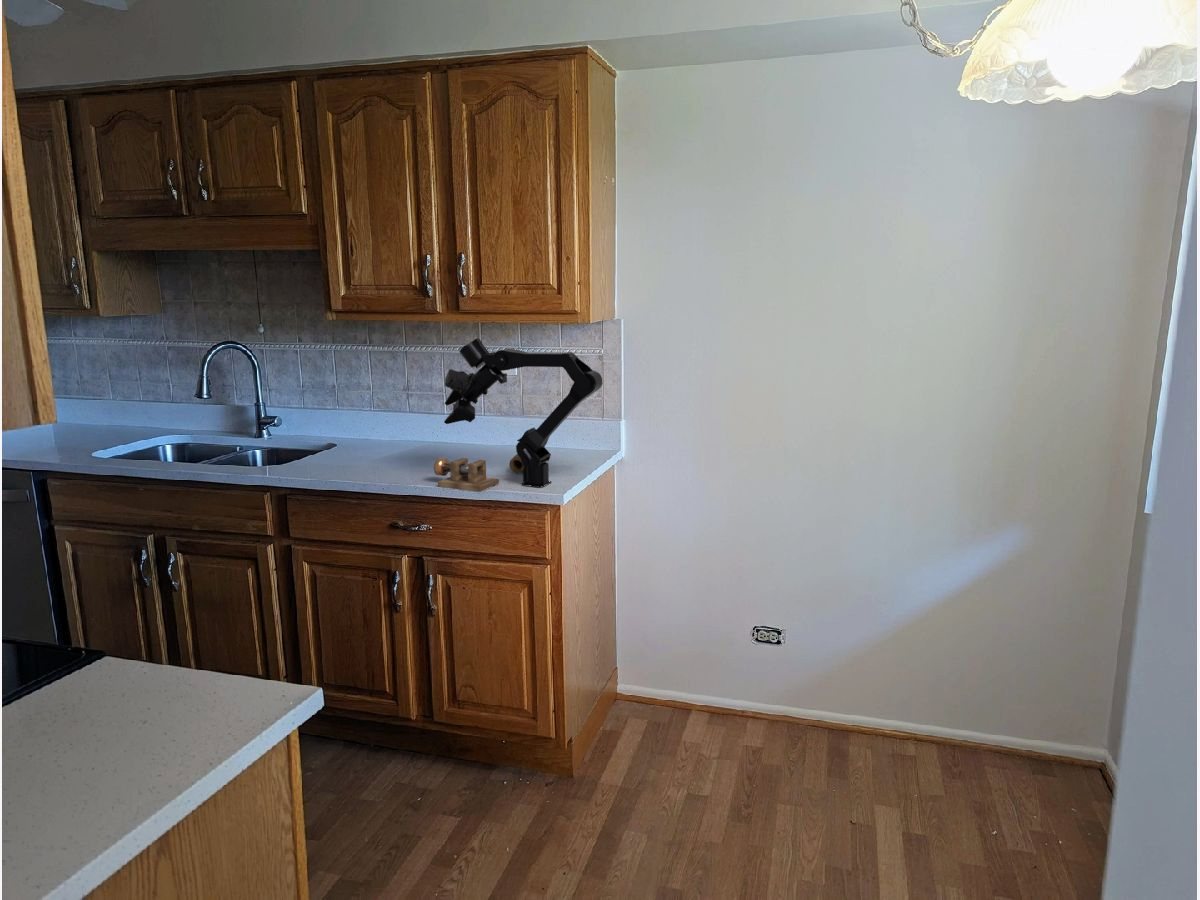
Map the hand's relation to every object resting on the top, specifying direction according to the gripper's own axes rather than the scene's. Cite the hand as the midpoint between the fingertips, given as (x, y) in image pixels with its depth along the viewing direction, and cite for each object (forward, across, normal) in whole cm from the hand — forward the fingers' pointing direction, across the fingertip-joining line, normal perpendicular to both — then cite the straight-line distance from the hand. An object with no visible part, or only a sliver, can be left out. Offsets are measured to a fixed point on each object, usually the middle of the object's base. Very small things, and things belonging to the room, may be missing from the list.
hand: (445, 413), depth 249 cm
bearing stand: (+5, +18, +13) cm, 23 cm away
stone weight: (-1, +2, +32) cm, 32 cm away
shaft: (+6, +15, +10) cm, 19 cm away
